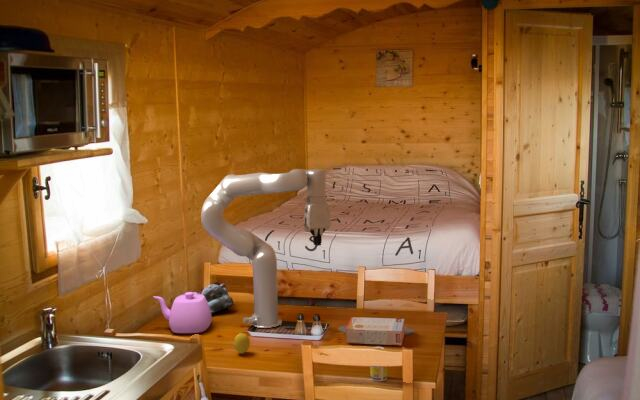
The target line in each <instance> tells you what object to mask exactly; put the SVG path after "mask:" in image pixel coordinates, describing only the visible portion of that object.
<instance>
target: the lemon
mask: <svg viewBox="0 0 640 400" xmlns="http://www.w3.org/2000/svg"><path fill="white" fill-rule="evenodd" d="M234 337H235V338H234V340H233V347H234V349H235V351H236V352H238V353H240V354H241V355H243V354H245V353H247V351H248V350H249V349H250V339H249V336H248V335H247V334H246V333H243V332H239V333H238V334H236V336H234Z"/></svg>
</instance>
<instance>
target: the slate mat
mask: <svg viewBox="0 0 640 400" xmlns="http://www.w3.org/2000/svg"><path fill="white" fill-rule="evenodd" d="M347 326H348V325H344V326H343V325H342V326H338V327H337V330H339V331H341V332H343V333H345V334H346V328H347ZM415 333H416V331H414V330H413V329H410V328H408V327H406V326H405V332H404V336H408V335H413V334H415Z"/></svg>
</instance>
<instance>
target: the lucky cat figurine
mask: <svg viewBox="0 0 640 400" xmlns="http://www.w3.org/2000/svg"><path fill="white" fill-rule="evenodd" d="M197 293H198V294H202V295H204V296H205V298H206V300H207V302H208V305H209V307H210V311H211V315H212V314H214V313H216V312H217V313H218V312H220V311H222V310H228V309H229V308H231V307H233V306H234V300H233V298H232V296H230V295H229V292H228V289H227V286H226V284H225V283H219V281H215V282H214V283H213V284H209V285H206V286H205V287H200V289H199V292H197Z"/></svg>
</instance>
